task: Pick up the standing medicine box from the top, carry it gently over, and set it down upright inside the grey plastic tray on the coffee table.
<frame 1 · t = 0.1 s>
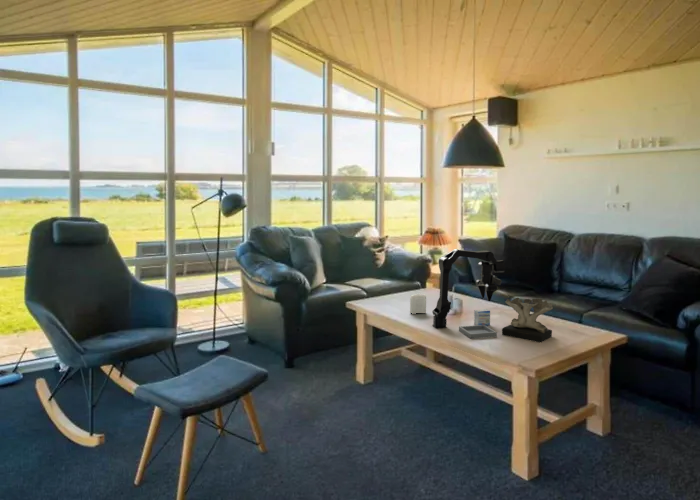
hand: (486, 299, 295), 14 cm above the table, tool pointing down, fingers open, 9 cm apart
tray: (477, 333, 278), on the table
medicine box: (482, 325, 295), on the table
photo printer: (418, 313, 323), on the table
coral: (526, 338, 270), on the table
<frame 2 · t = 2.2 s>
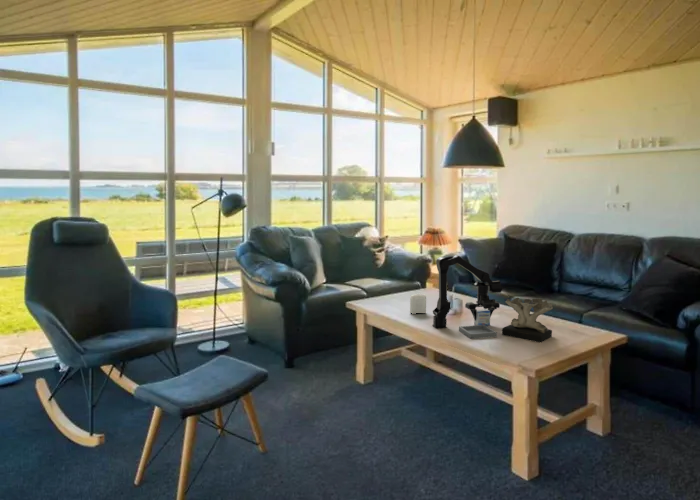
hand: (482, 319, 294), 3 cm above the table, tool pointing down, fingers closed on medicine box, 8 cm apart
medicine box: (482, 325, 295), on the table, touching gripper
everything else where it was.
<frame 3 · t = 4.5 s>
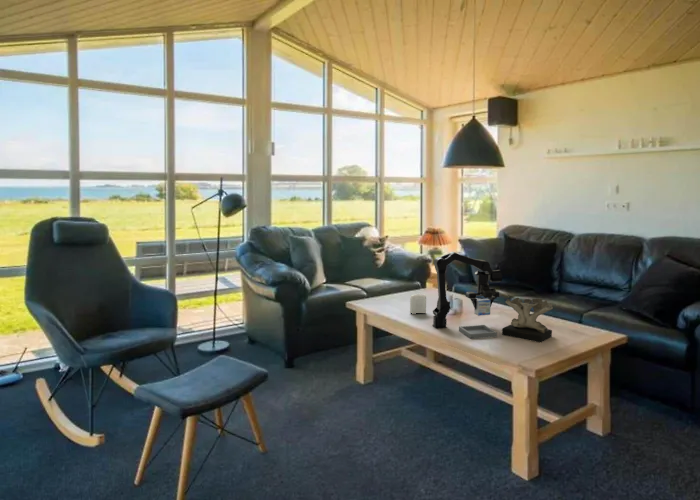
hand: (482, 309, 294), 9 cm above the table, tool pointing down, fingers closed on medicine box, 8 cm apart
medicine box: (482, 314, 294), point 6 cm above the table, touching gripper
everything else where it was.
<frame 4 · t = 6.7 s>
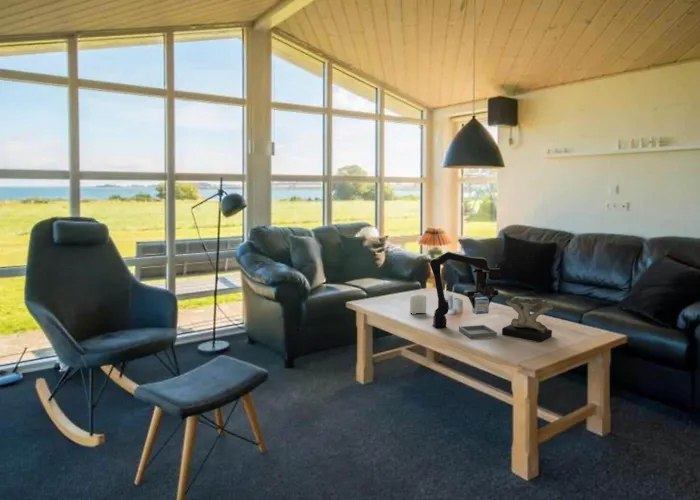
hand: (480, 307, 286), 12 cm above the table, tool pointing down, fingers closed on medicine box, 8 cm apart
medicine box: (480, 313, 287), point 9 cm above the table, touching gripper
everything else where it was.
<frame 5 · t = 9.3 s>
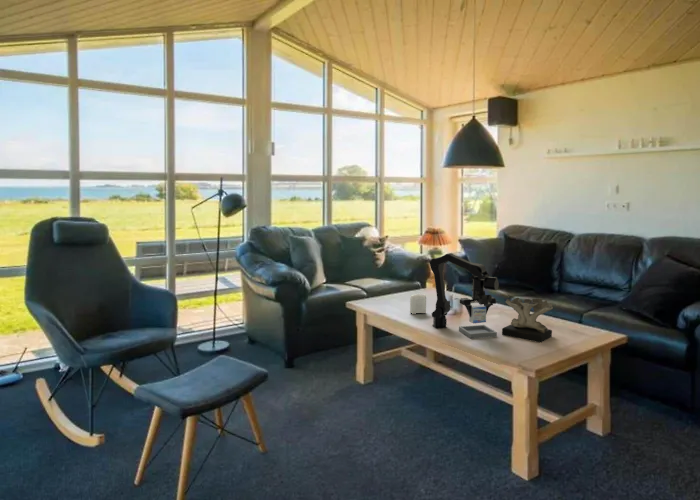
hand: (477, 316, 277), 10 cm above the table, tool pointing down, fingers closed on medicine box, 8 cm apart
medicine box: (477, 322, 277), point 6 cm above the table, touching gripper
everything else where it was.
when the fingers open (5 cm above the table, at t = 11.6 s): medicine box drops 1 cm, resting on tray.
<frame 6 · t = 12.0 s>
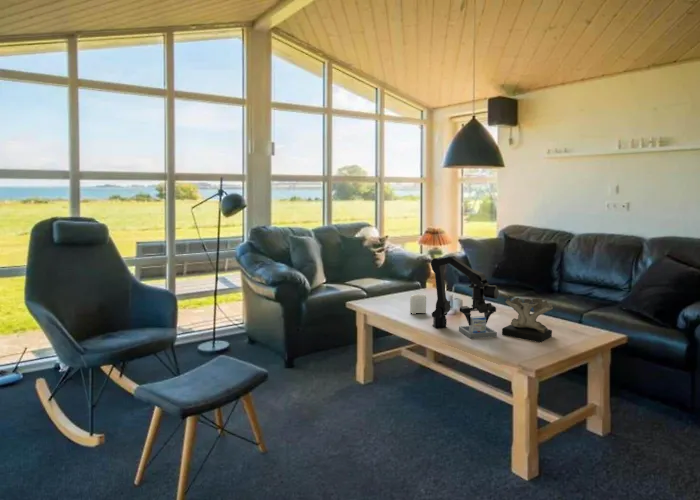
hand: (477, 324, 277), 5 cm above the table, tool pointing down, fingers open, 9 cm apart
medicine box: (477, 332, 278), resting on tray
everything else where it was.
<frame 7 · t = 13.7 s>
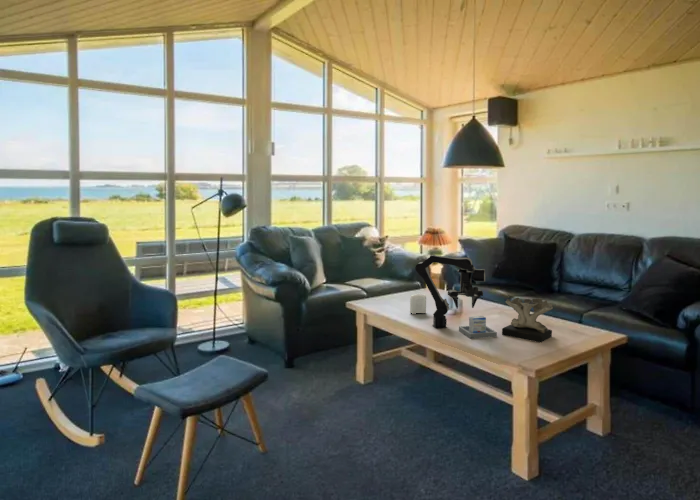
hand: (464, 308, 286), 12 cm above the table, tool pointing down, fingers open, 9 cm apart
nothing on the table moved.
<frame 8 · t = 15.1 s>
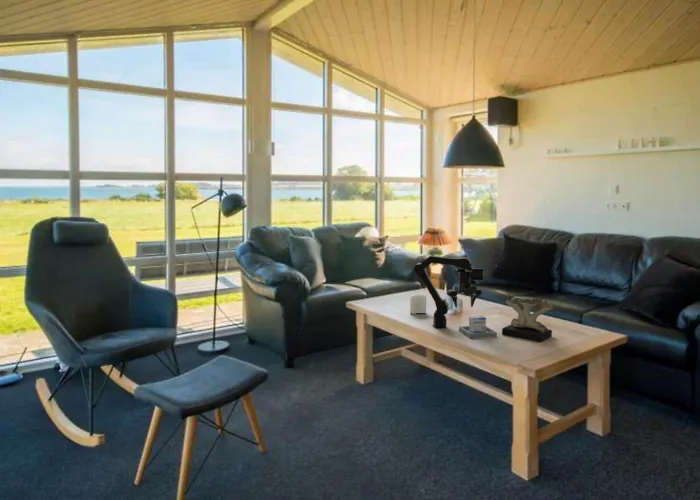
hand: (464, 307, 287), 12 cm above the table, tool pointing down, fingers open, 9 cm apart
nothing on the table moved.
at the end: medicine box inside the target area on the tray (0.1 cm from its centre), point 0.4 cm above the tray's base; medicine box tilted 0°; the gripper is holding nothing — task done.
